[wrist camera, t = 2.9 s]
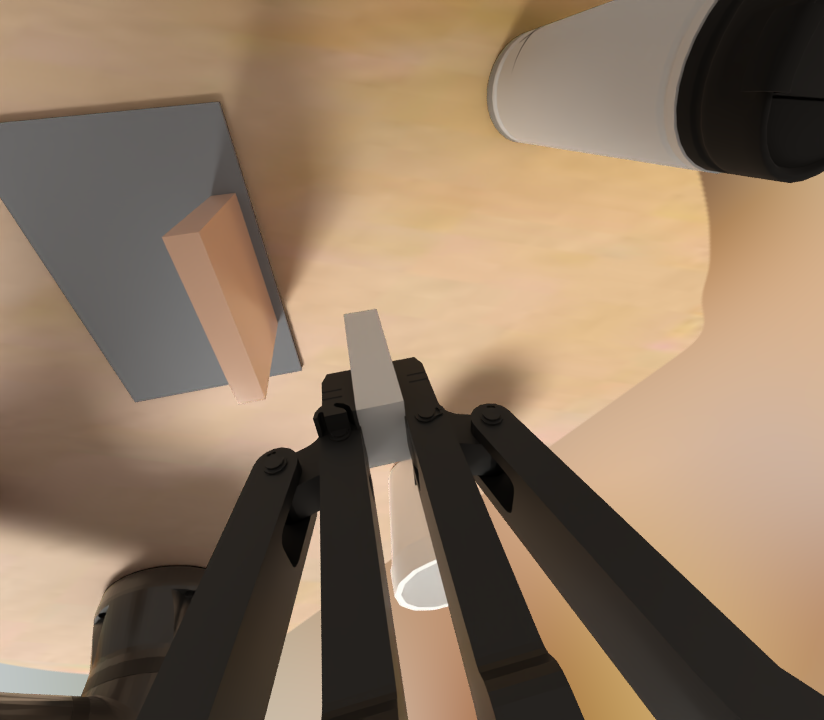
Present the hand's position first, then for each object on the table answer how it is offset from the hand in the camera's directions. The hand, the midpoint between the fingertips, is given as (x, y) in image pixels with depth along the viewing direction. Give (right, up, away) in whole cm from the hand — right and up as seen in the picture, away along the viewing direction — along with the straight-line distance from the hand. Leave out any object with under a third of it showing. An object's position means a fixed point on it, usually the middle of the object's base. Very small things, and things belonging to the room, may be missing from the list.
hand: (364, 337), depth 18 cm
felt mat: (-15, +5, +10) cm, 19 cm away
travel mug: (+10, +18, +9) cm, 22 cm away
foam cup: (+2, -15, +28) cm, 32 cm away
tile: (-10, +6, +10) cm, 16 cm away
